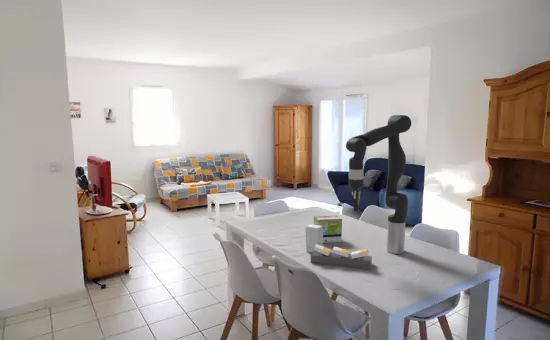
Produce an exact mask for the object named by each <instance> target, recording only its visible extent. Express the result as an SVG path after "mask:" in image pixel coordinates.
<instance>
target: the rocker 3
mask: <svg viewBox="0 0 550 340" xmlns="http://www.w3.org/2000/svg"><path fill="white" fill-rule="evenodd" d="M350 254H351V257H352V259H353V258H358V257H363V256H369V249H368V248H364V249H360V250H356V251H352V252H351V253H350Z"/></svg>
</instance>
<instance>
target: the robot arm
mask: <svg viewBox="0 0 550 340" xmlns="http://www.w3.org/2000/svg"><path fill="white" fill-rule="evenodd" d="M386 123H387V124H386V125H383V126H380V127H376V128H373V129H371V130H369V131H367V132H365V133H363V134H359V135H356V136H353V137H351V138H349V139H348V140H347V141H346V143H345V148H346V150H347V151H348V152H351V153H354V154H353V156H351V157H350V158H349V159H348V187H349V188H351V189H352V190H351V198H352V205H353V211H354V212H359V206H360V205H359V204H360V198H361V188H364V185H365V175H364V174H365V172H364V161H365V160H364V159H365V155H366V152H367V147H370V146H374V145H375V144H377V143H379V142H381V141H383V140H385V139H388V142H387V144H388V145H387V146H388V149H387V151H388V157H387V180H386V191H385V196H384V197H385V199H384V200H385V205H386V207H387V208H389V209H393V210H395V211H394V213H393V214H389V215H388V216H387V232H386V233H387V238H386V239H387V240H386V251H387V253H390V254H395V255H401V254H404V253H405V242H406V241H405V240H406V238H405V237H406V219H407V218H408V217H407V216H408V208H409V198H408V196H407V194H405V193H402V192H398V184H399V181H400V180H401V177H402V176H403V174H404V173H405V170H406V165H407V163H406V161H407V159H406V158H407V156H406V153H405V150H404V149H403V147H402V145H401V144H402V143H401V140H400V134H402V133H403V134H404V133H406V132H408V131H409V130H410V129H411V127H412V119H411V118H410V116H408V115H405V114H404V115H403V114H394V115H393V114H392V115H391V116H390V117H389V118H388V119H387V122H386Z"/></svg>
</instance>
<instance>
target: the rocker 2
mask: <svg viewBox="0 0 550 340" xmlns="http://www.w3.org/2000/svg"><path fill="white" fill-rule="evenodd" d="M331 252H332V253H335V254H338V255H342V256H345V257H348V255H349V254H350V250H348V249H345V248H341V247H337V246H333V248H332V249H331Z"/></svg>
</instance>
